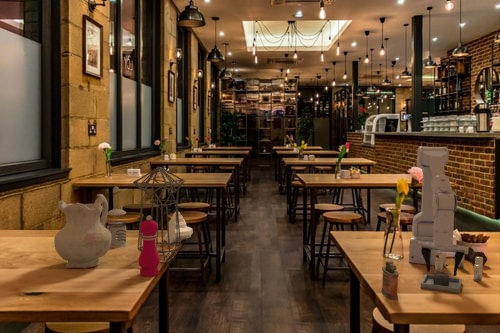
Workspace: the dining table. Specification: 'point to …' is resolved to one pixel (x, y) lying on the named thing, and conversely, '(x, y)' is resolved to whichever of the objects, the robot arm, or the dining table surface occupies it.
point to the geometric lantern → (162, 171)
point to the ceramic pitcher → (83, 233)
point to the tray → (453, 286)
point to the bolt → (475, 255)
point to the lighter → (390, 281)
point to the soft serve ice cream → (184, 230)
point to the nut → (441, 278)
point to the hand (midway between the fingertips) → (441, 273)
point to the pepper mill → (149, 249)
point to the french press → (115, 227)
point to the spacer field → (461, 265)
